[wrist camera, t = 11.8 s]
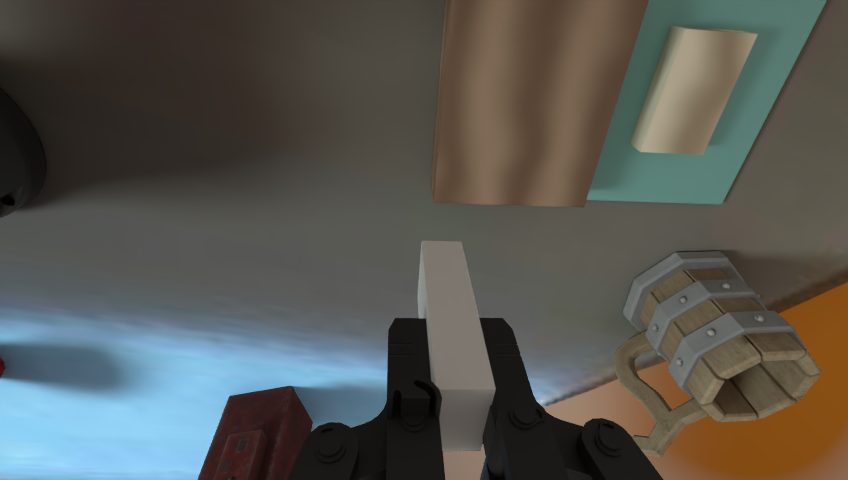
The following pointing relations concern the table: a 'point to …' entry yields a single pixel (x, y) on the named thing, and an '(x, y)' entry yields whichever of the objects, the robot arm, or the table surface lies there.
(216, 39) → the table surface
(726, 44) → the tile
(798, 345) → the tankard
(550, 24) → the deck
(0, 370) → the plastic cup
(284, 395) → the toy vending machine
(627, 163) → the mat
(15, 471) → the table surface
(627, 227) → the table surface
